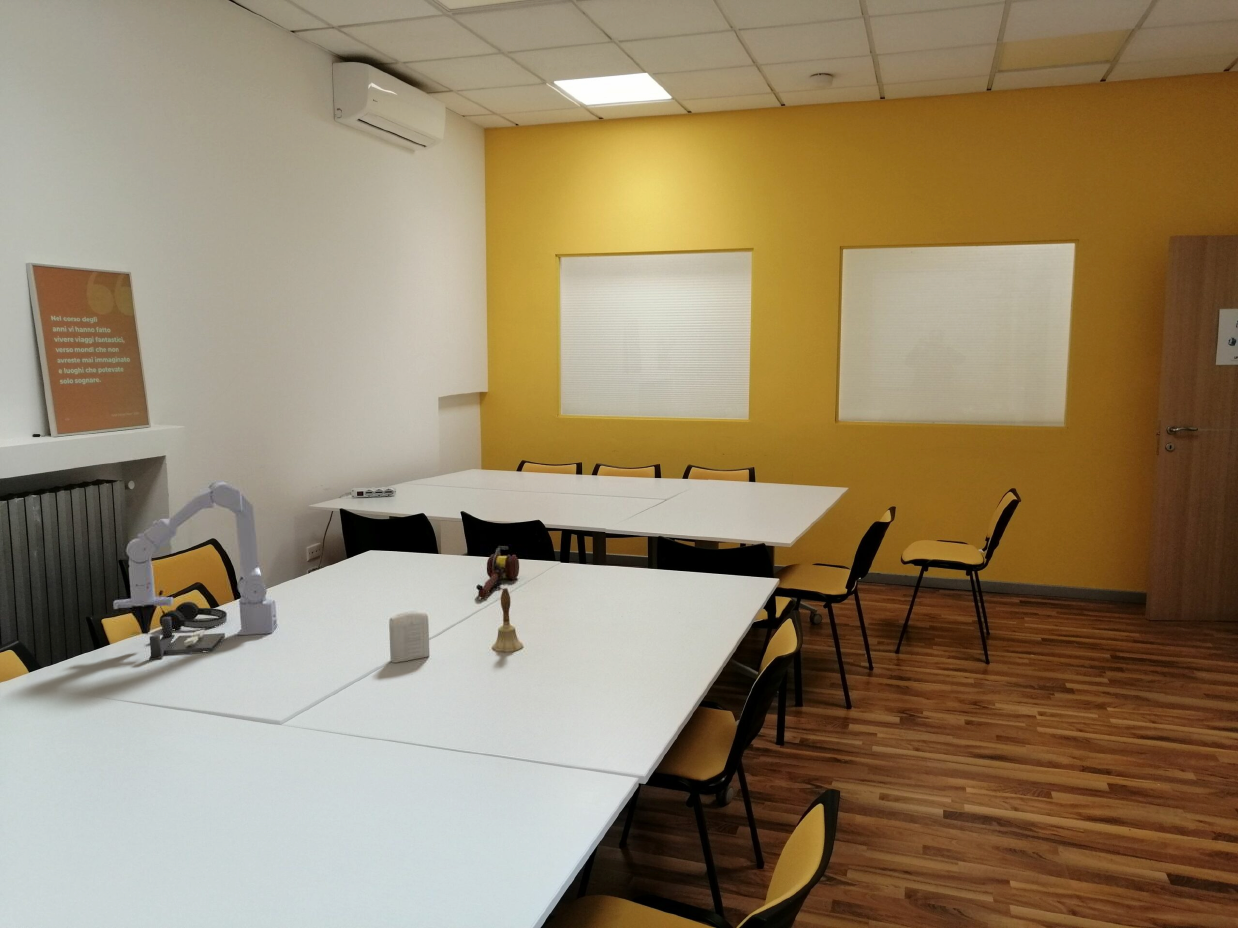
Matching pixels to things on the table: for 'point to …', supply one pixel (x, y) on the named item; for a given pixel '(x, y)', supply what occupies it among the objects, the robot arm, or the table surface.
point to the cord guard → (160, 645)
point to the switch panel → (202, 644)
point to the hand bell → (506, 629)
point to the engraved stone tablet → (409, 636)
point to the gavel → (499, 571)
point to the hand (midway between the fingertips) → (146, 632)
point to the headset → (193, 616)
